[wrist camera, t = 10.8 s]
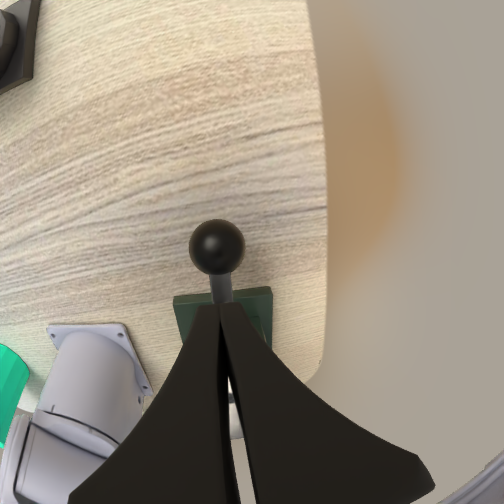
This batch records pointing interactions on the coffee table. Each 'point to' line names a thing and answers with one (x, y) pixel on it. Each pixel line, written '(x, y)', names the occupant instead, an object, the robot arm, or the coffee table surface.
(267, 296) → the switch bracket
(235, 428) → the switch lever
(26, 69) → the switch box
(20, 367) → the candle
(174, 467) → the robot arm
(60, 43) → the coffee table surface
